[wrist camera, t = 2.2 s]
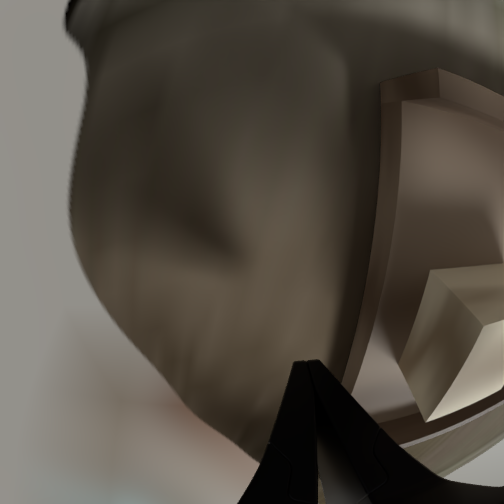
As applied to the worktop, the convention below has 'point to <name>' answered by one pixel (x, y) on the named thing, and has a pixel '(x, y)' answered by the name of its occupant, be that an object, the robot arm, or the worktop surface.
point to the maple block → (456, 340)
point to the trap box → (426, 232)
